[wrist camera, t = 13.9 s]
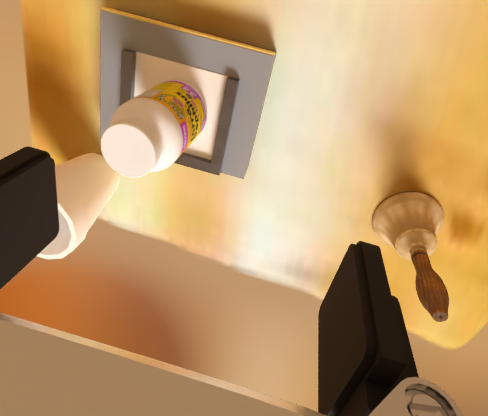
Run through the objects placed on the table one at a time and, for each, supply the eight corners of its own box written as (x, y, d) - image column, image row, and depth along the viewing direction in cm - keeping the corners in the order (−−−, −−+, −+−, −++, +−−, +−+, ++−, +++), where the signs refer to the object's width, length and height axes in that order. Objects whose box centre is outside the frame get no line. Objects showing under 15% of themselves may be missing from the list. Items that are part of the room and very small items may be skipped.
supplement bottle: (216, 132, 40) (178, 183, 30) (163, 143, 42) (110, 194, 31) (197, 71, 37) (148, 102, 27) (142, 85, 39) (74, 120, 28)
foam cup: (66, 192, 53) (-1, 244, 42) (64, 133, 48) (-13, 175, 37) (128, 211, 52) (77, 268, 41) (132, 153, 47) (76, 201, 36)
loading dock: (276, 50, 38) (273, 54, 35) (247, 168, 45) (243, 179, 43) (114, 6, 39) (100, 7, 36) (112, 130, 46) (99, 138, 43)
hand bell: (397, 257, 48) (428, 359, 35) (358, 217, 46) (374, 309, 33) (457, 224, 44) (518, 324, 31) (416, 178, 42) (462, 264, 29)
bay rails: (239, 79, 37) (238, 81, 36) (221, 171, 43) (218, 175, 42) (125, 48, 38) (121, 49, 37) (122, 144, 43) (118, 147, 43)
